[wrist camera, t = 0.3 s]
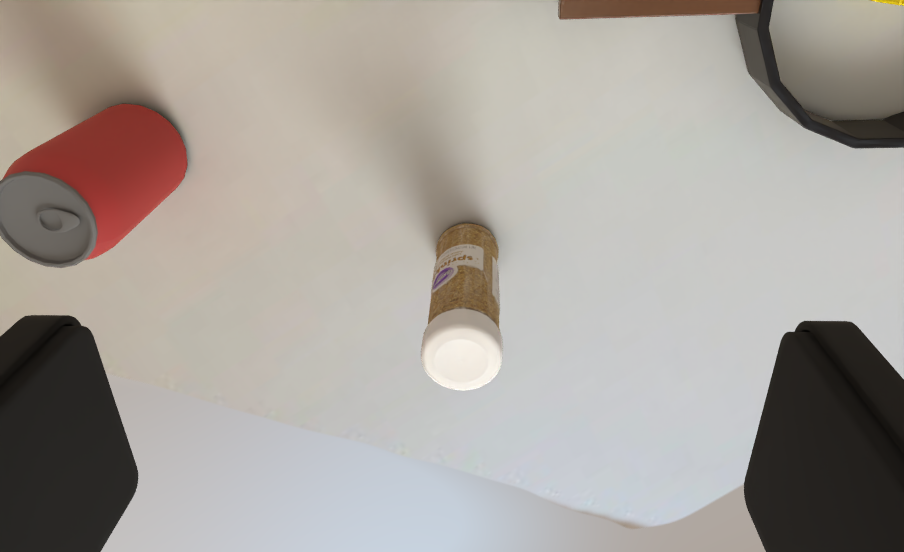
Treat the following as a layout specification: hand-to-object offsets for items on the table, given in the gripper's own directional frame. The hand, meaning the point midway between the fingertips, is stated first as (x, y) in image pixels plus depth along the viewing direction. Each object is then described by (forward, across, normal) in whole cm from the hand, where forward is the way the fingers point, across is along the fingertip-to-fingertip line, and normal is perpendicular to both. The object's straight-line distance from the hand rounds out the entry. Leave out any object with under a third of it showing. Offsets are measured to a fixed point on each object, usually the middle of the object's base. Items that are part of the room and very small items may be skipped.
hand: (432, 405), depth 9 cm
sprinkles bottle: (+36, +1, +16) cm, 40 cm away
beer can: (+36, +23, +8) cm, 44 cm away
